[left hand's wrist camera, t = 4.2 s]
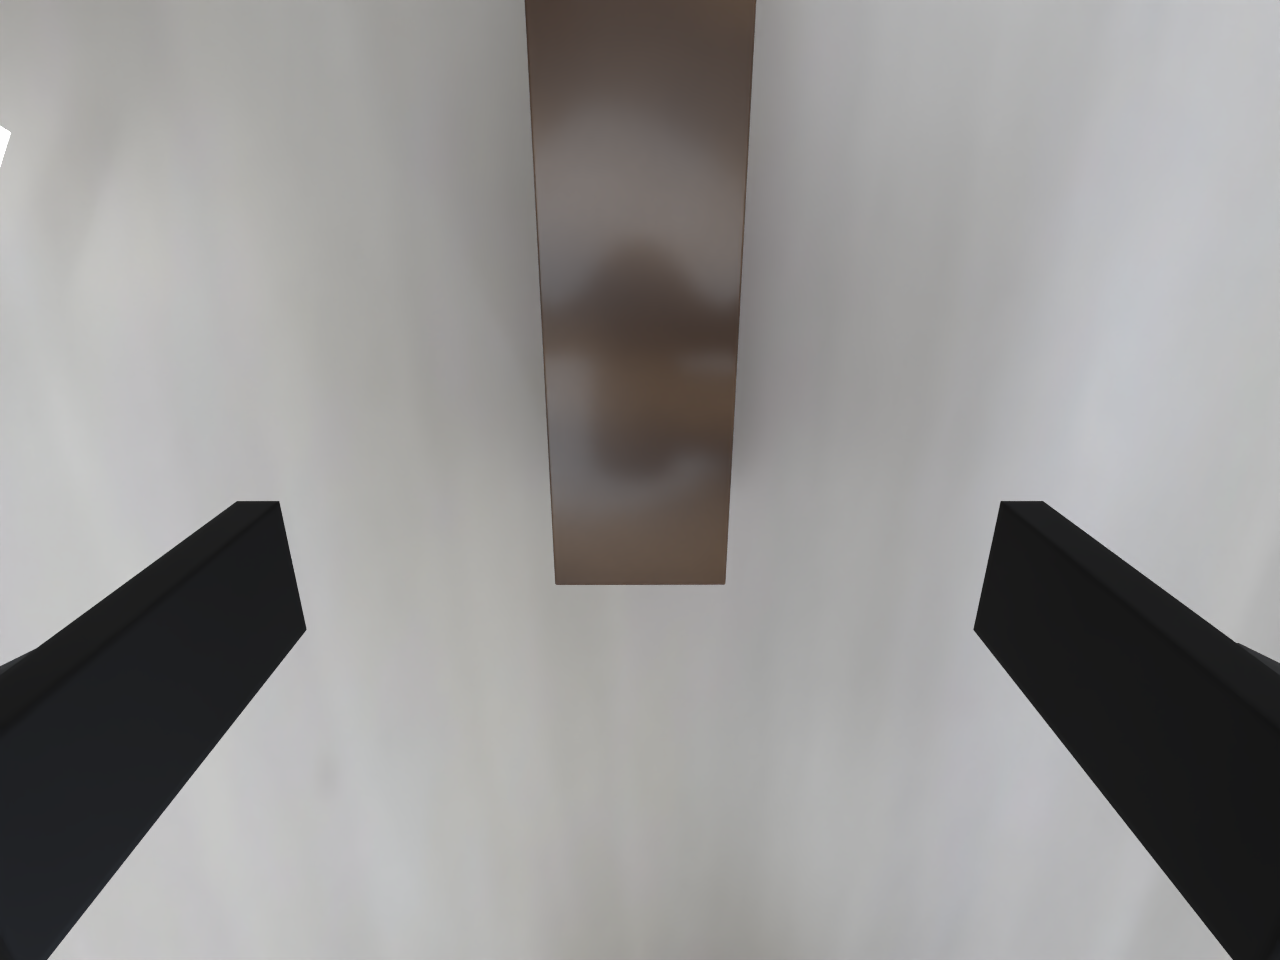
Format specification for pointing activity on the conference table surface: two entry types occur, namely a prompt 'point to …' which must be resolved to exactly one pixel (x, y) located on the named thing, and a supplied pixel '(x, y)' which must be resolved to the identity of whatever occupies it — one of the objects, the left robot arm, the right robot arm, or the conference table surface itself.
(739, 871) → the conference table surface
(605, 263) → the bar
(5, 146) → the right robot arm
